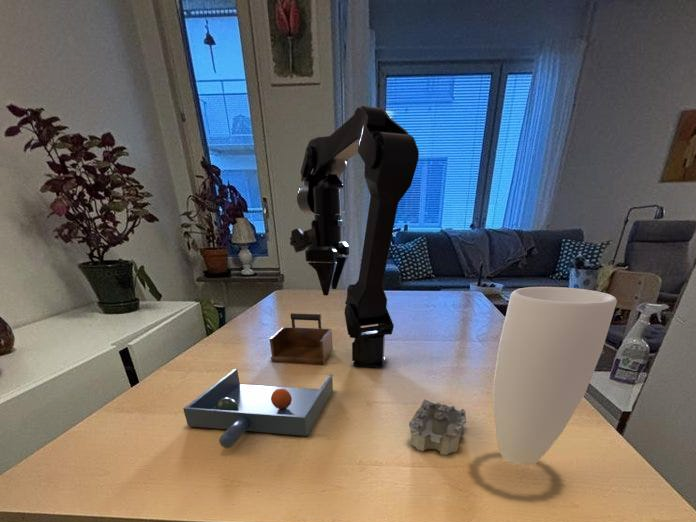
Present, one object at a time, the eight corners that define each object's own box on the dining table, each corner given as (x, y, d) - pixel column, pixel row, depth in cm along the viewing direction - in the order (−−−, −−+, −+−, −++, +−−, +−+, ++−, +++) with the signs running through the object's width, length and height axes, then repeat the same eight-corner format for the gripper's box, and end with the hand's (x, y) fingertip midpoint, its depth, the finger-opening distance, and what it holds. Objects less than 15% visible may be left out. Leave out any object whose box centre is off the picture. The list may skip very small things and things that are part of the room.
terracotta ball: (279, 410, 65) (296, 408, 67) (277, 389, 64) (294, 387, 66) (268, 409, 67) (284, 407, 69) (266, 389, 66) (282, 388, 68)
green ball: (240, 395, 64) (231, 401, 61) (242, 416, 65) (233, 422, 62) (221, 394, 64) (210, 399, 61) (223, 414, 66) (213, 420, 63)
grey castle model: (455, 458, 55) (459, 432, 52) (403, 448, 57) (405, 423, 54) (467, 426, 63) (472, 402, 60) (421, 418, 65) (424, 394, 63)
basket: (333, 349, 96) (331, 314, 91) (323, 364, 87) (320, 326, 83) (285, 347, 97) (281, 312, 92) (271, 361, 89) (266, 324, 84)
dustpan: (237, 385, 77) (234, 368, 75) (333, 391, 75) (332, 374, 73) (162, 449, 56) (156, 429, 54) (292, 461, 54) (290, 440, 52)
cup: (466, 453, 56) (496, 285, 43) (540, 455, 55) (592, 286, 43) (482, 498, 47) (526, 303, 35) (570, 500, 47) (646, 305, 34)
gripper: (303, 214, 95) (308, 285, 104) (278, 214, 80) (286, 297, 89) (349, 214, 94) (349, 286, 103) (331, 215, 79) (334, 299, 88)
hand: (330, 292), depth 96 cm, fingers open, 9 cm apart
